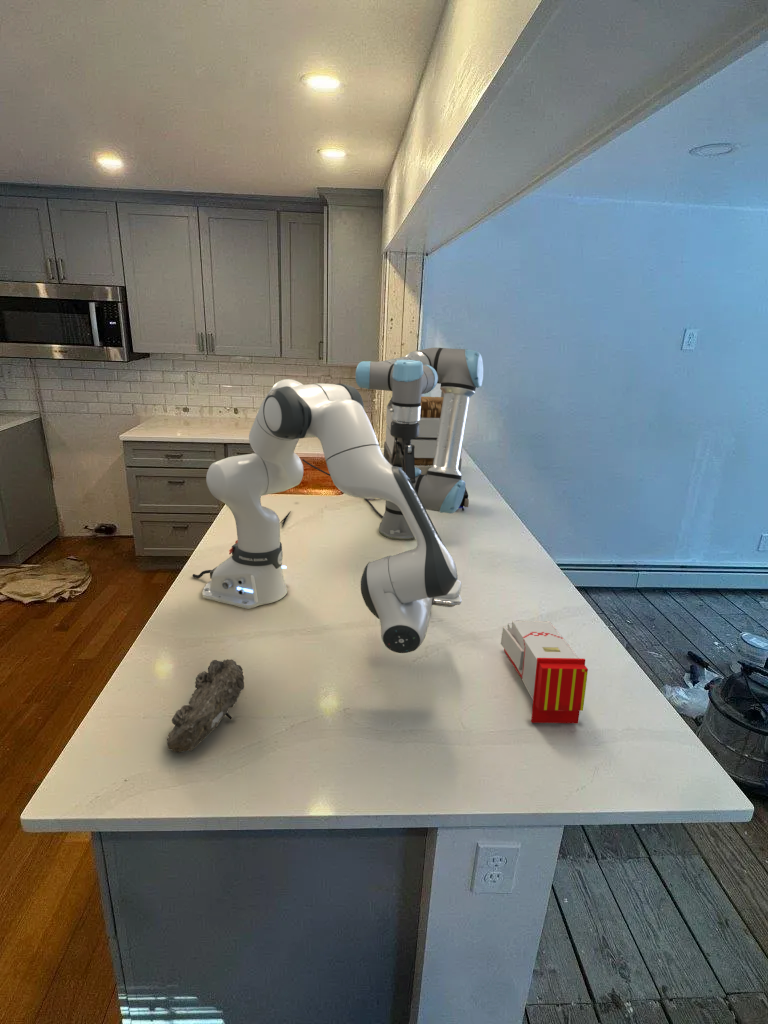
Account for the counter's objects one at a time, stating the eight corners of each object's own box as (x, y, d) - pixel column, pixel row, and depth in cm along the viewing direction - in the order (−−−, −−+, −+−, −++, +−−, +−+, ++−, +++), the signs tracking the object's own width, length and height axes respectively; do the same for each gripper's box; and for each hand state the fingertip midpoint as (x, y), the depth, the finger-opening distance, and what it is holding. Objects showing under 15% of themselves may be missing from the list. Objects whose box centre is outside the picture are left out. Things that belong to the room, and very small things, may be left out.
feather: (297, 505, 227) (300, 501, 226) (281, 528, 200) (284, 524, 199) (293, 503, 226) (296, 499, 226) (277, 526, 200) (279, 522, 199)
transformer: (382, 463, 289) (386, 382, 275) (445, 464, 293) (451, 384, 279) (390, 482, 257) (394, 392, 243) (460, 483, 261) (468, 394, 247)
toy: (547, 606, 135) (596, 665, 106) (541, 658, 138) (589, 729, 108) (496, 604, 134) (532, 664, 105) (492, 657, 137) (526, 729, 108)
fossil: (192, 660, 117) (244, 628, 112) (224, 691, 120) (276, 661, 115) (142, 746, 98) (202, 712, 93) (182, 779, 101) (242, 748, 96)
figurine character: (468, 516, 224) (463, 500, 237) (471, 498, 221) (465, 483, 234) (452, 515, 224) (447, 499, 237) (453, 498, 220) (449, 482, 234)
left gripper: (462, 592, 117) (464, 564, 130) (365, 580, 120) (377, 554, 133) (459, 619, 119) (461, 589, 132) (364, 606, 122) (375, 578, 135)
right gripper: (382, 412, 159) (379, 485, 166) (400, 431, 136) (396, 514, 143) (408, 412, 160) (404, 484, 167) (431, 431, 137) (425, 513, 144)
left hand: (418, 571), depth 133 cm, fingers open, 8 cm apart
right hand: (400, 498), depth 155 cm, fingers open, 13 cm apart
